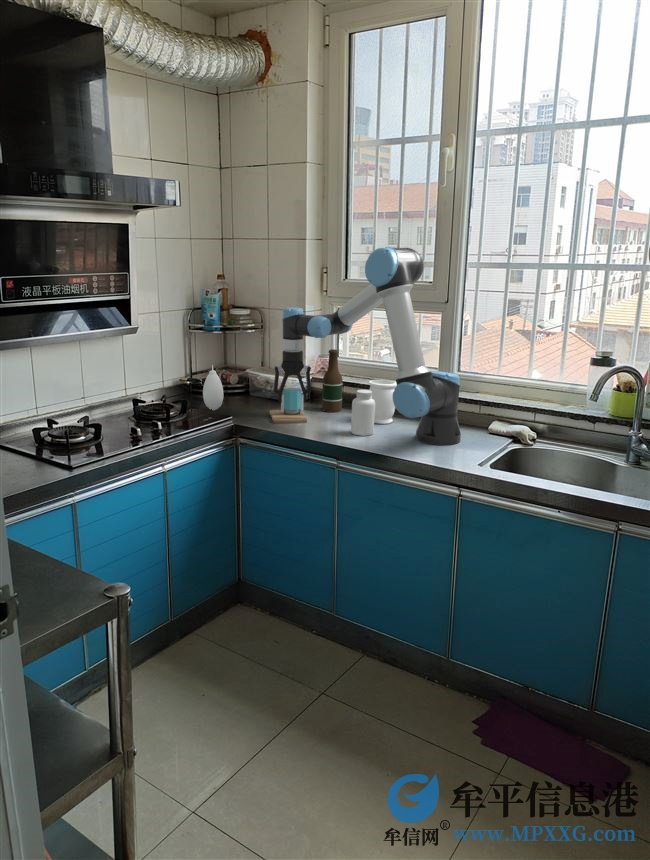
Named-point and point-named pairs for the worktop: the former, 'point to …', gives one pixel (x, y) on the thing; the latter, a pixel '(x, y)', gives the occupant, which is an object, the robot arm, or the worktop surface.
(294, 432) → the worktop surface
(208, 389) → the white air blower bulb
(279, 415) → the stud block
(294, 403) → the turquoise hexagonal prism
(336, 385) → the beer bottle
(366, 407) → the pill bottle
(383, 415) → the jar
